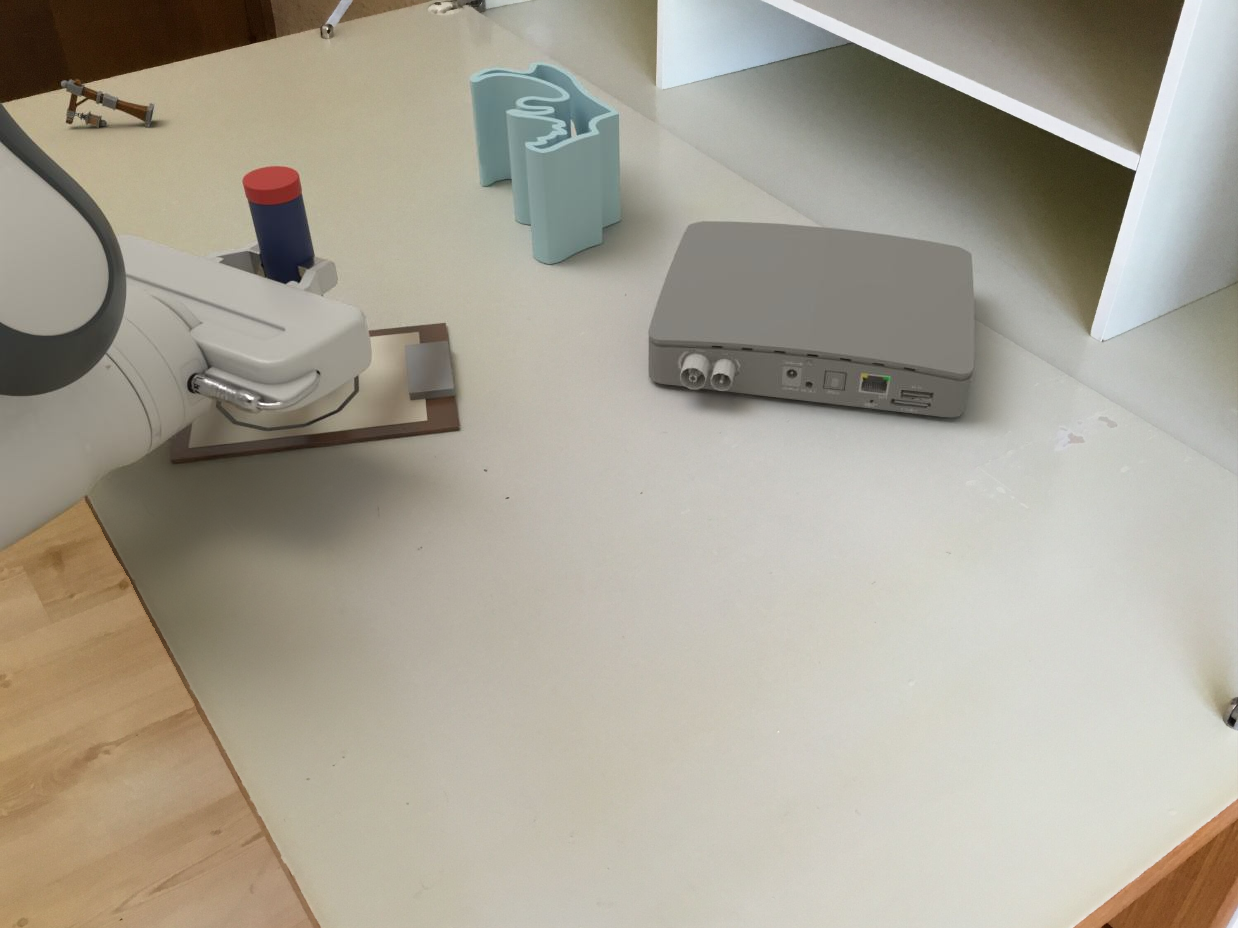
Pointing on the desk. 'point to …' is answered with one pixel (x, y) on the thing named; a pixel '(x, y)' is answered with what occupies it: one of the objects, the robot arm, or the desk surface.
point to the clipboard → (343, 404)
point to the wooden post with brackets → (106, 100)
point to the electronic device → (817, 317)
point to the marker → (279, 221)
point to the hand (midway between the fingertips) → (299, 259)
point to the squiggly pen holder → (549, 154)
